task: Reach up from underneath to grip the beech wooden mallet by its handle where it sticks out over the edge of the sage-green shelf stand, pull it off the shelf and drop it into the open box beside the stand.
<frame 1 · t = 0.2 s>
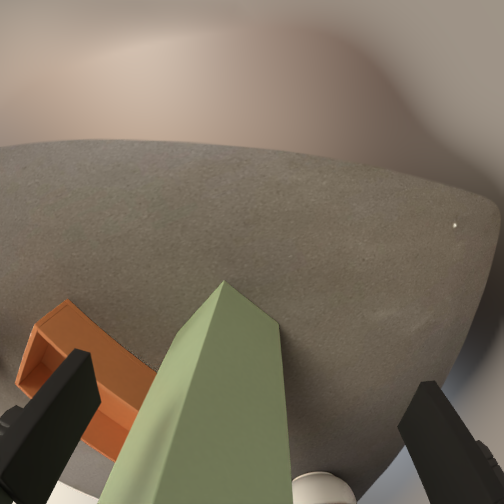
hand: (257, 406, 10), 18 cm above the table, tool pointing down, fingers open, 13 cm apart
lidded bowl: (312, 481, 38), on the table
open box: (107, 380, 33), on the table
shelf stand: (210, 317, 30), on the table
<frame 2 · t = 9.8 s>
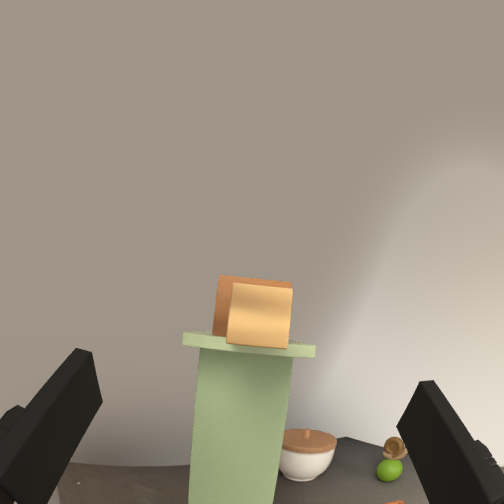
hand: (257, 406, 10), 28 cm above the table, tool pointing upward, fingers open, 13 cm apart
lidded bowl: (299, 475, 49), on the table
mallet: (249, 339, 24), point 30 cm above the table, touching shelf stand
snail figurine: (388, 481, 43), on the table
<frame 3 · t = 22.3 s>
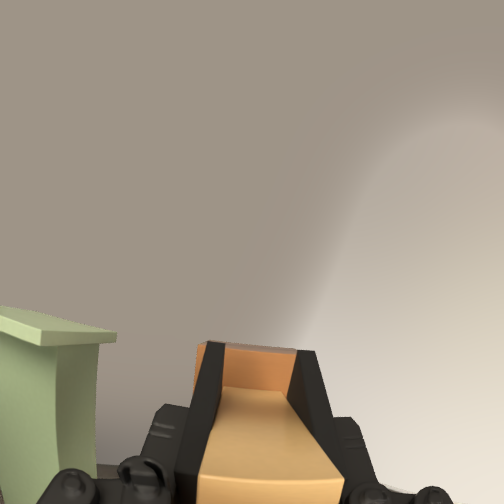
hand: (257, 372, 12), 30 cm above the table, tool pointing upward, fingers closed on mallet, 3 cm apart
mallet: (246, 440, 14), point 26 cm above the table, touching gripper
when the fingers open (23 cm above the table, at t = 24.7 s): mallet drops 15 cm, resting on open box.
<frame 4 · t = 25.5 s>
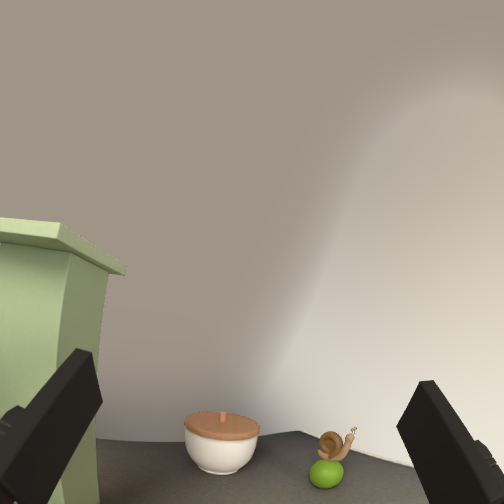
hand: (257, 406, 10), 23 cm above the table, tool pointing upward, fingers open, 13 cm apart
lidded bowl: (217, 467, 43), on the table
snail figurine: (325, 488, 36), on the table
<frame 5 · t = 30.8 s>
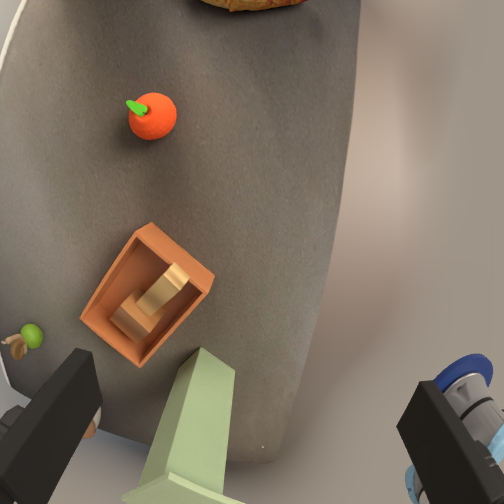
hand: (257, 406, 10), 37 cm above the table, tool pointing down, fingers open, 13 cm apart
lidded bowl: (85, 394, 57), on the table
mallet: (152, 298, 46), point 3 cm above the table, tilted 24°, touching open box
clementine: (157, 118, 42), on the table
open box: (150, 290, 49), on the table
snail figurine: (38, 328, 53), on the table
shelf stand: (213, 363, 53), on the table
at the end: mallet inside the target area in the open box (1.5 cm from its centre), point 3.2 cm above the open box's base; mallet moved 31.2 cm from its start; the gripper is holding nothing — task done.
